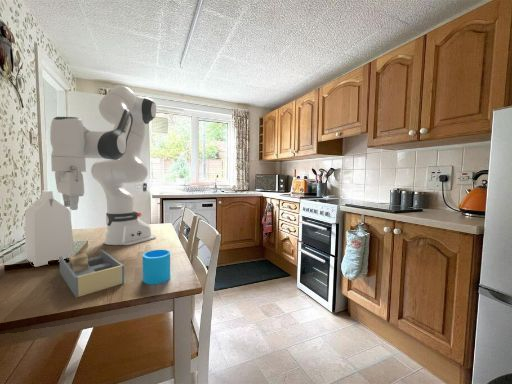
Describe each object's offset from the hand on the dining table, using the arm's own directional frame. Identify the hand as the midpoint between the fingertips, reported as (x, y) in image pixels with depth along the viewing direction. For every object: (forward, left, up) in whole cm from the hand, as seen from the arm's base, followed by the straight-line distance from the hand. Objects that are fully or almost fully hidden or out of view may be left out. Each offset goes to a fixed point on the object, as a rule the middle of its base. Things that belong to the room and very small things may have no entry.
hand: (70, 208), depth 79 cm
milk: (+3, -19, -22) cm, 29 cm away
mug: (-18, +24, -22) cm, 37 cm away
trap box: (-3, +11, -21) cm, 24 cm away
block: (0, +8, -18) cm, 20 cm away
